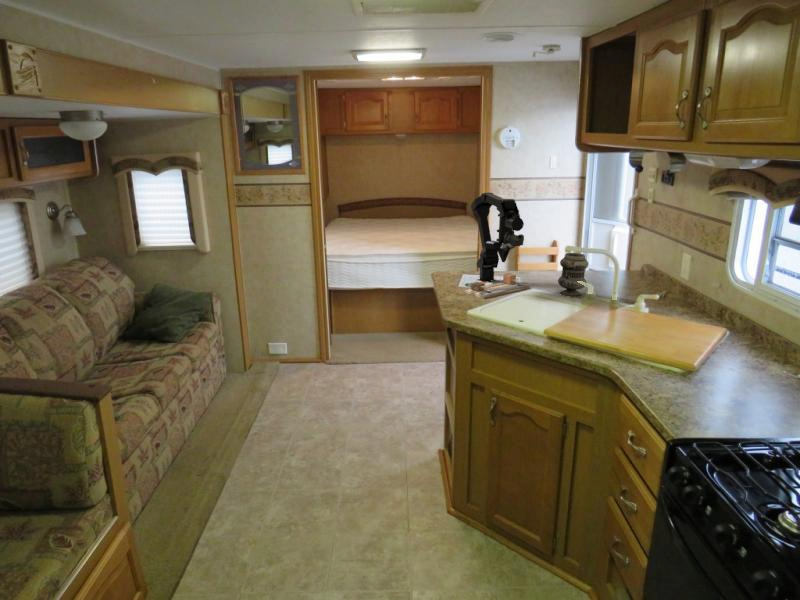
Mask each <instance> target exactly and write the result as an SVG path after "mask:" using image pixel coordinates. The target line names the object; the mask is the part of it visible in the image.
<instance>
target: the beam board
mask: <svg viewBox="0 0 800 600" xmlns="http://www.w3.org/2000/svg"><path fill="white" fill-rule="evenodd" d="M484 287H487V288H490V290H487V289H484V290H482V291H478V292H477V291H474V290H471V288H469V289H464V293H465V294H469V295H470V296H475V297H478V298H481V299H488V298H492V297H495V296H501V295H505V294H510V293H514V292H517V291H516V290H518V291H522V290H521V289H523V290H525V288H527V289H530V288H531V285H529V284H526V283H523V282H522V283H520V282H515V283H513V284H507V283H503V281H501V282H497V283H493V284H487V285H484ZM529 287H530V288H529ZM513 291H514V292H513Z"/></svg>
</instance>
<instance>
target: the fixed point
mask: <svg viewBox="0 0 800 600" xmlns="http://www.w3.org/2000/svg"><path fill="white" fill-rule="evenodd" d="M484 286H485V282H484V283H482V282H480V281H475V282H471V283H470V289H471V290H474V291H477V292H478V291H482V290H484V289H487V290H490V288H487V287H484Z"/></svg>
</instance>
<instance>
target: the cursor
mask: <svg viewBox="0 0 800 600" xmlns="http://www.w3.org/2000/svg"><path fill="white" fill-rule="evenodd" d="M516 278H517V274H514V273H512V272H509V273H504V274H503V279H502V280H503V281H502V282H503V283H507V284H513V283H515V282H518V283H523V280H519V279H516Z"/></svg>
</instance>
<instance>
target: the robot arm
mask: <svg viewBox="0 0 800 600" xmlns="http://www.w3.org/2000/svg"><path fill="white" fill-rule="evenodd" d="M492 206H494V207H496V210H497V211H498V212H499V213H498V214H497V217H499V222H498V229H496V232H497V233H498V238H496V240H492V236H491V230H490V226H489V225H490V222H489V219H488V218H489V215H490V210H491V208H492ZM470 209H471V212H472V215H473V217H474V218H475V219H476V220H477V225H478V226H477V227H478V230H479V231H478V232H479V238H480V243H481V248H482V249H481V251H480V253H479V258H478V260H477V262H476V267H477V268H478V269H479V278H480V280H479V281H481V280H483V281H482V282H485V281H489V282H492V281H491V280H494V279H495V270H494V269H497V268H498V265H499V262H500V261H499V260H501V262H502V263H506V260H507V259H508V256H509V255H510V254H509V253H510V252H511V251H512V250H513V249H515V248H516V247H520V246H524V240H525V235H523V234H521V233H519V234H518V235H517V234H515V232H518V231H521V230H522V229H523V228H524V225H525V222H524V220H523V219H522V217H521V215H520V211H519V210H520V209H519V208H518V205H517V202H516V200H515V199H514V198H503V197H502V196H499V195H496V194H495V193H493V192H483V193H481V194H480V195H479V196H478V197H477V198H475V199H474V200H473V201H472V203H471V205H470ZM494 281H495V280H494Z"/></svg>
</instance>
